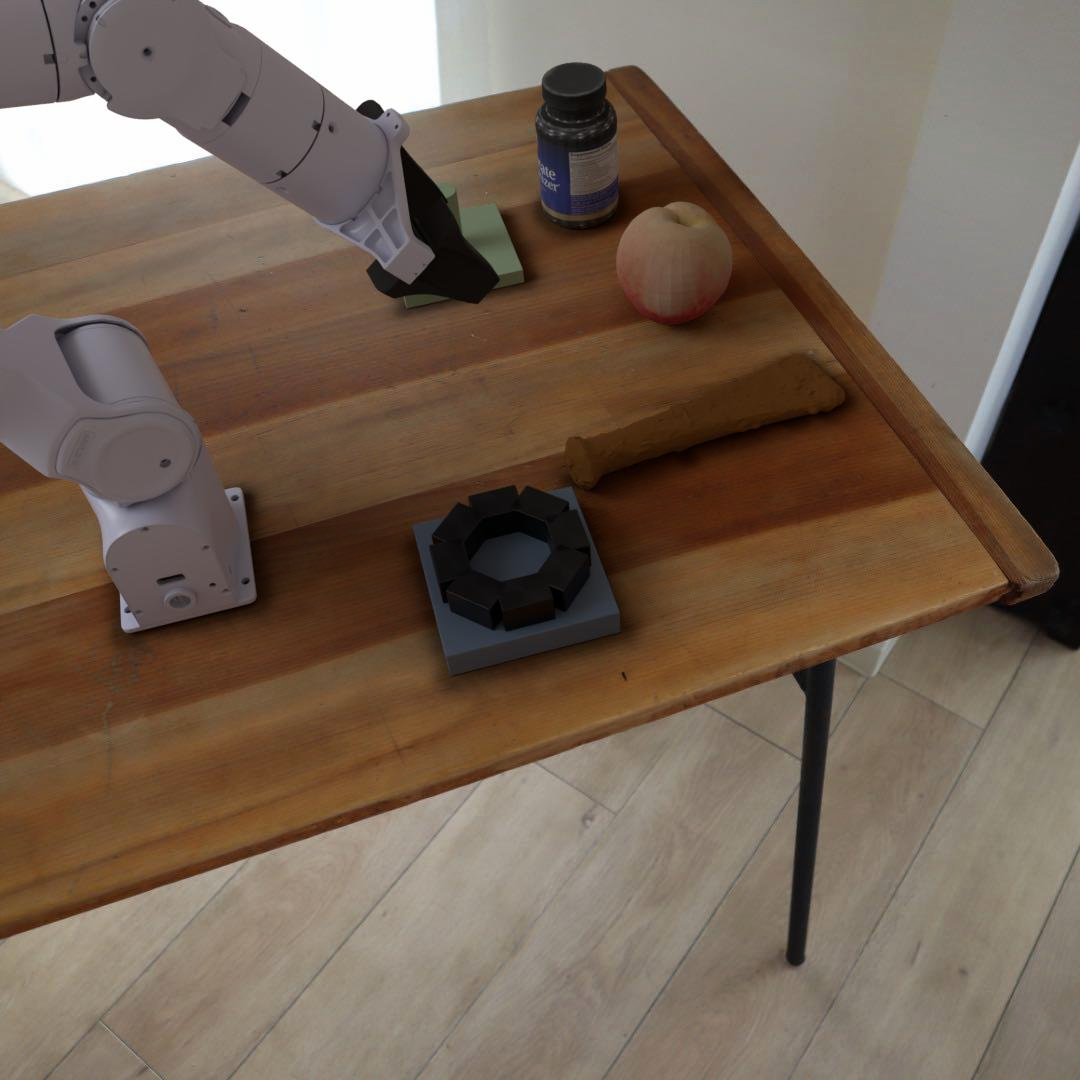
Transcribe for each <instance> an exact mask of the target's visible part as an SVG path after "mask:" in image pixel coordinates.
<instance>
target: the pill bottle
mask: <svg viewBox="0 0 1080 1080" xmlns="http://www.w3.org/2000/svg"><path fill="white" fill-rule="evenodd" d="M607 86H608V85H607V76H606V73H605V72H604V70H603V69H602V68H601V67H599V66H597V65H595V64H592V63H589V62H581V61H572V62H571V61H570V62H565V63H561V64H558V65H555V66H552V67H551V68H550V69H548V70H546V72H545V73H544V74H543V76H542V77H541V98H542V100H543V101H544V102H543V103H542V104H541V105H540V106H539V108H538V110H537V111H536V115H535V117H534V126H535V138H536V139H535V140H536V150H537V152H536V153H537V162H538V176H539V188H540V202H541V203H540V204H541V209H542V212H543V214H544V215H545V217H547V219H548V220H549V221H551V222H552V223H554V224H556V225H559V226H562V227H564V228H568V229H587V228H590V227H595V226H598V225H600V224H603V223H605V222H606V221H608V220H609V219H610V218H612V217H613V215H614V214H615V212H616V211H617V210H618V206H619V201H620V200H619V157H618V155H619V153H618V152H619V151H618V116H617V111H616V109H615V107H614V105H613V103H612V102H611V101H610V100H608V98H606V96H607V92H608V87H607Z"/></svg>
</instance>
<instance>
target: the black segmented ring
mask: <svg viewBox="0 0 1080 1080" xmlns="http://www.w3.org/2000/svg"><path fill="white" fill-rule="evenodd" d="M546 492H547V491H543V490H541V489H539V488H536V487H533V486H531V485H527V484H526V485H525V487H524V488H523V489H522V490H521V492H520V494H519V492H518V488H517V486H516V484H511V485H507V486H503V487H500V488H496V489H491V490H487V491H483V492H479V493H474V494H470V495H468V496H467V500H468V505H467V504H465V503H462V502H459V501H458V502H457V503H456V504H455V505H454V506H453V507H452V508H451V510H450V511H449V512H448V514H447V515H446V516H445V517H446V518H445V519H444V520H443V521H442V523H441V524H440V525H439V526H438V528H437V529H436V530H435V531H434V533H433V534H432V535H431V537H432V541H433V544H432V545H429V550H430V554H431V558H432V563H433V567H434V571H435V575H436V578H437V582H438V586H439V590H440V594H441V598H442V601H443V603H448V602H449V607H450V611H451V612H453V613H455V614H457V615H459V616H462V617H464V618H466V619H468V620H470V621H473V622H475V623H477V624H479V625H482V626H484V627H486V628H488V629H491V630H494V629H495V628H496V626H497V625H498V623H499V622H500V621H501V619H502V621H503V625H504V628H505V631H506V632H507V631H511V630H515V629H519V628H522V627H526V626H530V625H534V624H538V623H542V622H546V621H550V620H554V619H555V618H556V617H555V608H557V609H560V610H562V611H564V612H566V611H567V609H568V608H569V606H570V605H571V603H572V602H573V600H574V599H575V597H576V596H577V595H578V593H579V592H580V590H581V589H582V587H583V586H584V584H585V583H586V581H587V580H588V578H589V577H590V568H589V567H590V566H591V549H590V543H589V540H588V538H587V535H586V532H585V530H584V527H583V524H582V522H581V519H580V516H579V514H578V511H577V509H574V510H570V508H569V501H566V500H564V499H561V498H559V497H556V496H554V495H551V494H548V493H546ZM515 532H521V533H523V534H525V535H528V536H530V537H533V538H535V539H538V540H540V541H543V542H545V543H548V546H549V548H550V551H551V554H550V555H549V557H548V558H547V560H546V561H545V562H544V564H543V565H542V567H541V568H540V569H539V571H538V572H537V573H534V574H530V575H526V576H522V577H518V578H514V579H510V580H506V581H503V582H501V581H499V580H496V579H494V578H492V577H489V576H487V575H485V574H482V573H480V572H478V571H475V570H473V569H472V568H471V565H470V560H471V559H472V557H473V556H474V555H475V554H476V552H477V551H478V550H479V548H480V547H481V546H482V544H483V543H484V542H485V540H487V539H491V538H495V537H499V536H503V535H507V534H511V533H515Z"/></svg>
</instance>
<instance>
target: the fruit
mask: <svg viewBox="0 0 1080 1080" xmlns="http://www.w3.org/2000/svg"><path fill="white" fill-rule="evenodd" d="M733 256H734V255H733V248H732V245H731V242H730V240H729V238H728V236H727V234H726V233H725V231H724V230H723V228H721V226H720V225H719V224H718V223H717V222H716V221H715V219H714V217H713V216H712V215H711V214H710V213H709V212H707V211H706V210H705V209H704V208H703V207H701V206H699V205H697V204H695V203H692V202H688V201H680V200H679V201H675V202H670V203H668V204H667V205H665V206H663V207H661V206H653V207H650V208H647V209H645V210H644V211H642V212H641V213H639V214H638V215H637V216H635V218H633V219H632V220H631V221H630V222H629V224H628V226H627V227H626V229H625V230H624V231H623V233H622V235H621V238H620V240H619V244H618V246H617V250H616V266H615V267H616V275H617V278H618V280H619V283H620V286H621V289H622V291H623V293H624V294H625V297H626V298H627V299H628V301H629V302H630V303H631V305H633V307H634V308H635V309H636V310H637V311H638V312H639V313H640V314H642V315H643V316H644V317H645V318H647V319H648V320H649V321H652V322H654V323H656V324H660V325H664V326H674V325H682V324H685V323H689V322H691V321H693V320H695V319H697V318H699V317H701V316H703V315H704V314H705V313H706V312H707V311H709V310H710V309H711V308H712V307H713V306H714V305H715V304H716V303H717V302H718V301H719V299H720V298H721V297H722V296H723V294H724V293H725V292H726V290H727V288H728V286H729V283H730V279H731V277H732V271H733Z"/></svg>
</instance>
